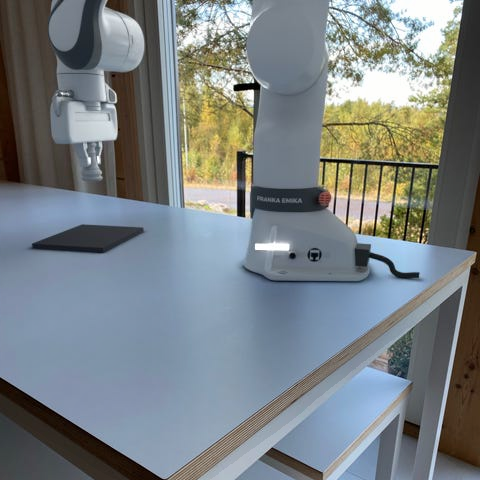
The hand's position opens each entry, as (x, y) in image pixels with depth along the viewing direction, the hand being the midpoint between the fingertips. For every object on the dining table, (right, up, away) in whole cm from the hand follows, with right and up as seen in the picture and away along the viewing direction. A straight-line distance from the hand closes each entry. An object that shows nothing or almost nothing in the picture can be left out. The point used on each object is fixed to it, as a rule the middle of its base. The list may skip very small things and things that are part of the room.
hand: (90, 165), depth 99 cm
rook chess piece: (0, -3, +1) cm, 3 cm away
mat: (-2, -14, +6) cm, 16 cm away
